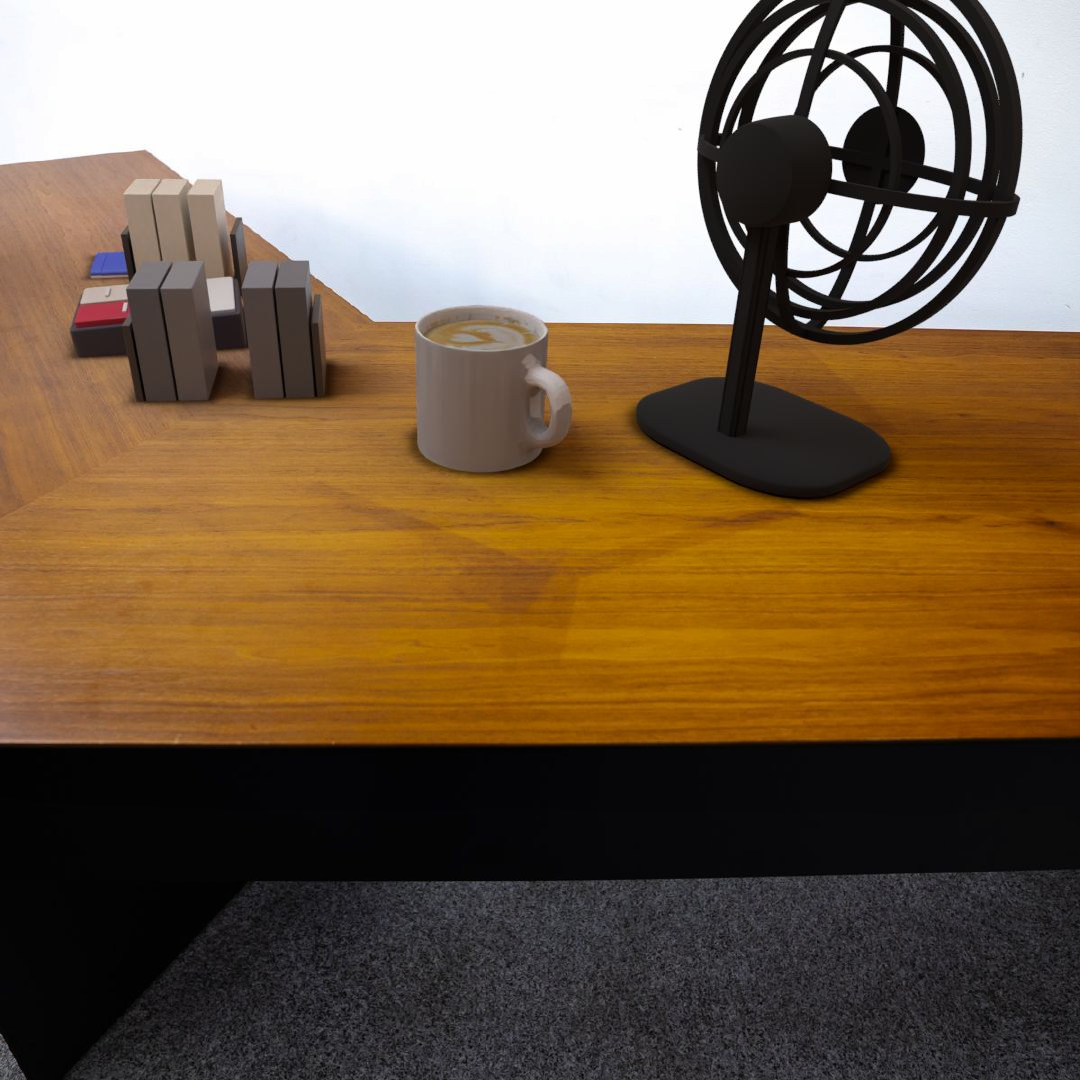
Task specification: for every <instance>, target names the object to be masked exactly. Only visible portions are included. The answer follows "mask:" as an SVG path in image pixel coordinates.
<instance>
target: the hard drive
mask: <svg viewBox="0 0 1080 1080" xmlns="http://www.w3.org/2000/svg"><path fill="white" fill-rule="evenodd" d="M89 275H90V279H112V278H113V279H114V278H115V279H116V278H128V272H127V267H126V261H125V256H124V251H108V252H106V251H105V252H97V253H96V254H95V256H94V260H93V262H92V265H91V267H90V270H89Z"/></svg>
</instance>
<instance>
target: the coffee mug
mask: <svg viewBox="0 0 1080 1080" xmlns="http://www.w3.org/2000/svg"><path fill="white" fill-rule="evenodd" d="M548 344H549V329H548V326H547V324H546V322H544V321H543V319H541V318H539V317H538V316H536V315H534V314H531V313H530V312H527V311H524V310H522V309H521V310H520V309H516V308H511V307H505V306H499V305H489V304H488V305H487V304H486V305H485V304H467V305H466V304H465V305H456V306H449V307H444V308H439V309H437V310H433V311H430V312H428V313H426V314H424V315H423V316H421V317H419V319H417V321H416V322H415V325H414V354H415V355H414V357H415V397H416V398H415V399H416V432H417V447H418V448H417V449H418V450H419V452H420V453H421V454H422V456H423V457H425V458H426V459H427V460H429V461H430V462H432V463H434V464H436V465H438V466H441V467H444V468H447V469H450V470H455V471H460V472H469V473H497V472H504V471H508V470H512V469H516V468H519V467H522V466H524V465H527V464H529V463H531V462H533V461H534V460H535V459H536V458H538V457H539V456H540V454H541V452H542V451H543V449H547V448H552V447H554V446H556V445H558V444H560V443H561V442H562V441H564V439H566V437H567V435H568V434H569V430H570V428H571V424H572V418H573V417H572V416H573V402H572V395H571V392H570V389H569V387H568V384H567V383H566V381H565V380H564V379H563V378H562V377H561V376H560V375H559V374H557V373H555V372H554V371H552V370H550V369H547V365H548V347H549V346H548ZM546 397H547V399H548V400H547V401H548V403H549V409H550V416H549V417H550V418H549V425H546V423H545V407H546Z"/></svg>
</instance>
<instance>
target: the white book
mask: <svg viewBox="0 0 1080 1080" xmlns="http://www.w3.org/2000/svg"><path fill="white" fill-rule="evenodd" d="M223 189H224V187H223V181H222V179H221V178H220V179H219V178H218V179H215V178H214V179H213V178H212V179H211V178H197V179H196V180H195V181H194V183H193V185H192V186H191V187H190V191H189V192H188V194H187V198H188V205H189V212H190V219H191V226H192V232H193V239H194V246H195V253H196V260H197V261H204V265H205V273H206V279H211V278H221V277H232V278H233V279H234V278H235V275H234V267H233V258H232V250H231V242H230V234H229V228H228V221H227V213H226V211H227V210H226V204H225V197H224V196H225V195H224V190H223Z"/></svg>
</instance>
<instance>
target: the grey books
mask: <svg viewBox="0 0 1080 1080" xmlns="http://www.w3.org/2000/svg"><path fill="white" fill-rule="evenodd" d="M310 266H311V265H310V260H280V263H279V260H249V263H248V269H247V272H246V276H245V279H244V282H243V285H242V296H241V298H242V306H243V313H244V322H245V331H246V339H247V346H248V354H249V361H250V370H251V371H250V372H251V379H252V386H253V394H254V399H255V400H261V399H264V400H265V399H284V398H286V399H299V398H300V399H302V398H303V399H304V398H306V399H307V398H325V394H326V393H325V392H326V380H327V379H326V377H327V353H326V339H325V329H324V313H323V302H322V294H321V293H314V294H313V290H312V281H311V280H312V279H311V270H310V268H311V267H310ZM128 284H129V285H128V286H127V288H126V293H127V299H128V304H129V309H130V313H129V315H128V316H127V318H126V320H125V322H124V323H123V325H122V328H123V334H124V339H125V344H126V349H127V360H128V364H129V370H130V374H131V380H132V385H133V386H132V387H133V390H134V397H135V402H137V403H139V402H141V403H142V402H145V401H146V402H176V401H177V400H178V401H181V402H183V401H184V402H185V401H208V400H210V396H211V393H212V389H213V386H214V383H215V380H216V376H217V373H218V369H219V367H220V366H219V360H218V353H217V349H216V344H215V337H214V330H213V323H212V315H211V308H210V301H209V294H208V287H207V280H206V273H205V265H204V261H175V262H174V264H173V263H172V261H143V262H142V264H141V265H140V267H139V269H138V270H137V272H136V273H135V275H134V277H133V278H132V280H131V281H130V283H128Z"/></svg>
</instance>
